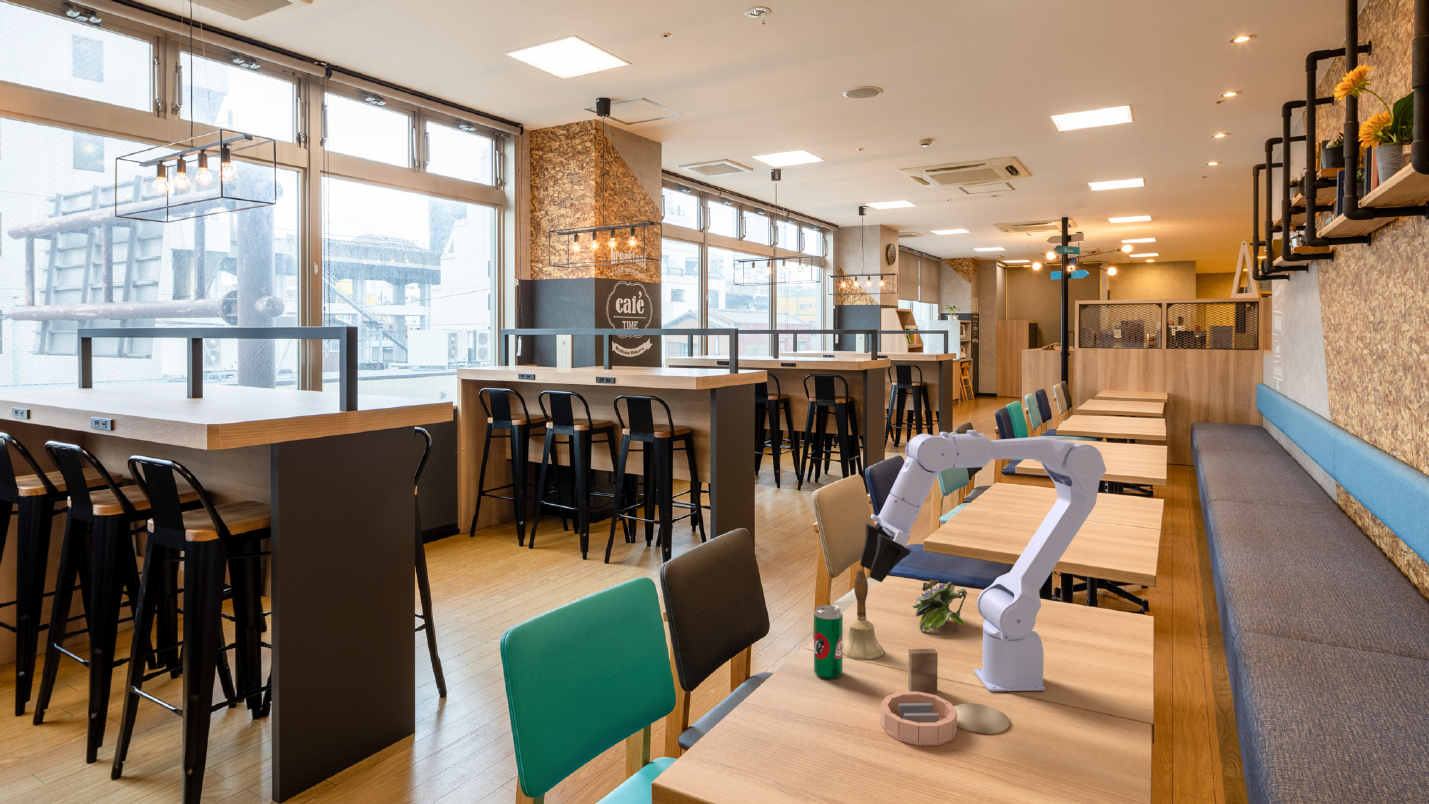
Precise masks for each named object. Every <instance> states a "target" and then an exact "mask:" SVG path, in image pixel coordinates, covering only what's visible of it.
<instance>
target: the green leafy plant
mask: <svg viewBox="0 0 1429 804" xmlns="http://www.w3.org/2000/svg"><path fill="white" fill-rule="evenodd" d="M938 584H939V586H936V585H938ZM935 586H936V587H935ZM955 588H956V586H955V585H954V584H953V583H952V581H949V582H948V583H940V580H934V579H932V580H931V579H930V580H929V582H923V583H922V587H921V590H922V591H923V592H924V593H921V596H917V597H918V598H917V597H916V602H917V603H915V604H913V605H912V608H913V609H916V612H915V616H916V617H920V620H919V629H920V630H919V631H920V632H921V633H923V630H924V631H929V630H931V629H935V630H938V629H940V628H942V627H943V626H944V625H945V624H946V623H948V622H949V619H951V620H952V621H953V622H954V623H956V632H957V631H958V632H959V626H962V627H963V626H965V623H964V621H963V620H962V618H961V609H962V607H963V605H964V601H965V600H966V597H967V595H968V592H967V590H966V588H963V587H961V588H960V589H956V592H955ZM929 589H930V590H929ZM955 599H962V600H961V601H960V602H961V603H960V605H959V607H958V610H957V611H953V610H951V609H950V604H951V603H953V600H955Z"/></svg>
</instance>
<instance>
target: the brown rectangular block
mask: <svg viewBox="0 0 1429 804" xmlns="http://www.w3.org/2000/svg"><path fill="white" fill-rule="evenodd" d="M938 659H939V658H938V651H937V650H936V649H935V648H908V690H909V691H908V692H923V693H928V694H938V666H939V665H938Z"/></svg>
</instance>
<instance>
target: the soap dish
mask: <svg viewBox="0 0 1429 804" xmlns="http://www.w3.org/2000/svg"><path fill="white" fill-rule="evenodd" d="M880 724H881V725H880V726H881V728H882V730H883V732H885V734H886V735H888V736H890V737H891V738H893V739H895V740H897V741H898V742H902V743H905V744H909V745H913V746H920V747H921V746H922V747H932V746H933V747H935V746H940V745H944V744H947V743H949V742H951V741H953V740H954V738H955V737H956V736H957V730H958V726H957V711H956V710H955V708H954V705H953V703H951V702H950V701H948V700H946V699H944V698H942V697H940V695H939V696H938V695H937V694H936V695H935V694H933V693H923V692H910V691H898V692H895V693H892V694H889V695H886V696H885V697H884V699H883V700H882V702H881V703H880Z"/></svg>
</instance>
